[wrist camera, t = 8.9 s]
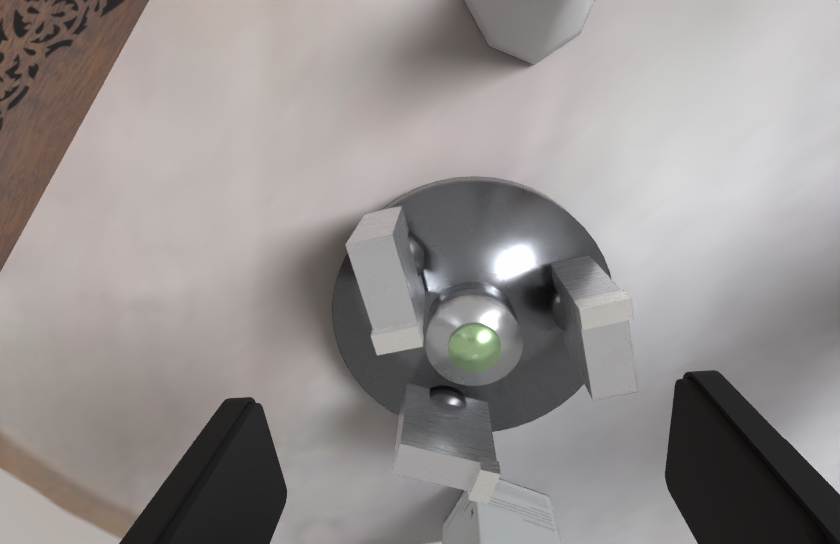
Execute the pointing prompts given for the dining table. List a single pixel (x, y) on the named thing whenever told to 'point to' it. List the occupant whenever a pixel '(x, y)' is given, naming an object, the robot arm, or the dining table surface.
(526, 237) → the levelling plate
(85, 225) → the dining table surface
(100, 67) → the tissue box cover
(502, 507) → the supplement box
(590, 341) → the knob
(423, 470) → the knob
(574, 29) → the flask
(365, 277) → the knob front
